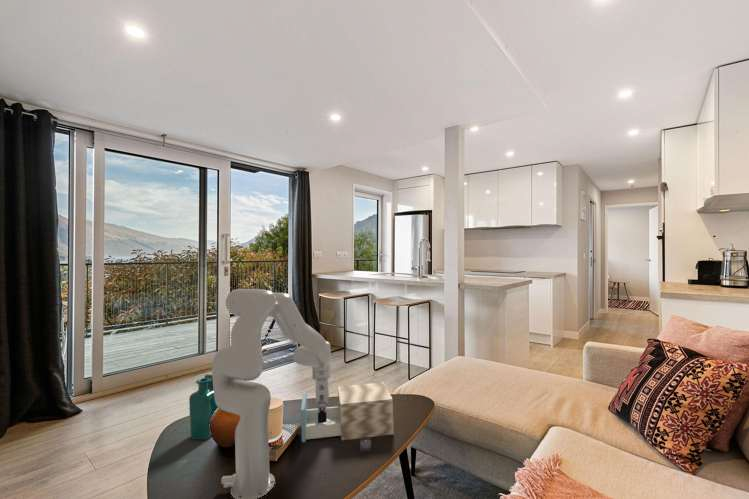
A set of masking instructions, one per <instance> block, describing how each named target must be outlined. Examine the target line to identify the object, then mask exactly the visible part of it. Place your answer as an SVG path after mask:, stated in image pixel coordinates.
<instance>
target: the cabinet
mask: <svg viewBox="0 0 749 499" xmlns="http://www.w3.org/2000/svg"><path fill="white" fill-rule="evenodd" d="M337 399H338V406H340V410H341V435H340V439H341V441H347V440H356V439H361V438H362V437H369V438H372V437H382V436H390V435H391V436H392V435H394V434H395V432H394V431H395V430H394V406H393V405H394V404H393V403H394V402H393V397H392V395H391V393H390V392H389V390H388V387H387V385H386V383H385V382H383V381H382V382H372V383H370V382H369V383H360V384H349V385H341V386H339V385H338V386H337Z"/></svg>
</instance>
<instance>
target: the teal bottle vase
mask: <svg viewBox="0 0 749 499" xmlns="http://www.w3.org/2000/svg"><path fill="white" fill-rule="evenodd" d="M195 384H198V385H197V386H198V388H197V390H196V391H195V392H193V393H191V394H190V396H189V400H188V402H189V405H188V406H189V407H188V408H189V436H190V439H191V438H194V439H193V440H198V439H206V440H209V439H211V438H212V437H211V433H210V427H209V424H210V419H211V417H212V415H213V413H214V411H215V410H216V409H217V408H218V406H217V405H216V402H215V398H214V389H213V378H212V374H209V373H208V374H207V373H206V374H205V375H204V377H203V378H198V379H197V380H195ZM218 409H219V408H218ZM208 438H209V439H208Z"/></svg>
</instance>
